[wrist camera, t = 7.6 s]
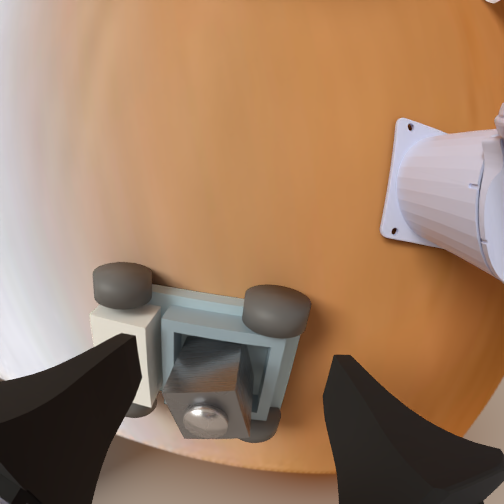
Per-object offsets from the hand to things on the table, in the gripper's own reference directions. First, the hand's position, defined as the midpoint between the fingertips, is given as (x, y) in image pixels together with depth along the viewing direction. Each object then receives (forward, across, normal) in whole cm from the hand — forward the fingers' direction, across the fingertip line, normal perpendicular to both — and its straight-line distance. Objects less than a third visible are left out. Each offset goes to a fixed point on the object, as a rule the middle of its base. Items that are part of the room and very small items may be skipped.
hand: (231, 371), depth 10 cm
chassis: (+10, +3, +6) cm, 12 cm away
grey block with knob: (+9, +2, +6) cm, 11 cm away
